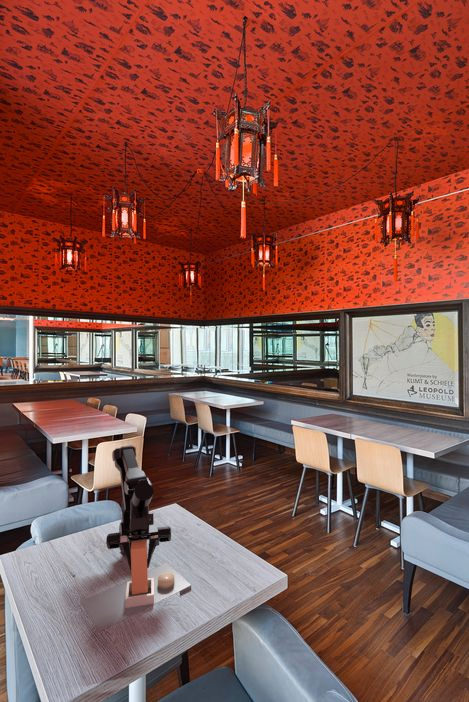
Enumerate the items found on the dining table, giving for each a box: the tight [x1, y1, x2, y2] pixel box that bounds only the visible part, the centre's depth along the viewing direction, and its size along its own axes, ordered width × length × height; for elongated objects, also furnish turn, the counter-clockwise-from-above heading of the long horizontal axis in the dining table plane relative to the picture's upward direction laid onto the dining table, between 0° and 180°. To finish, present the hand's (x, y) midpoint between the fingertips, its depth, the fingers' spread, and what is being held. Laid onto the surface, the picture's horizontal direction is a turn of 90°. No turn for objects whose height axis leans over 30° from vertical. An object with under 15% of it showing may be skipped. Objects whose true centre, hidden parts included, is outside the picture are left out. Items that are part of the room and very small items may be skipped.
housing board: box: [80, 562, 192, 633], centre depth 110 cm, size 15×28×4 cm, turn 130°
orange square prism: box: [130, 540, 149, 595], centre depth 108 cm, size 4×4×13 cm
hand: (139, 569), depth 107 cm, fingers closed on orange square prism, 4 cm apart
